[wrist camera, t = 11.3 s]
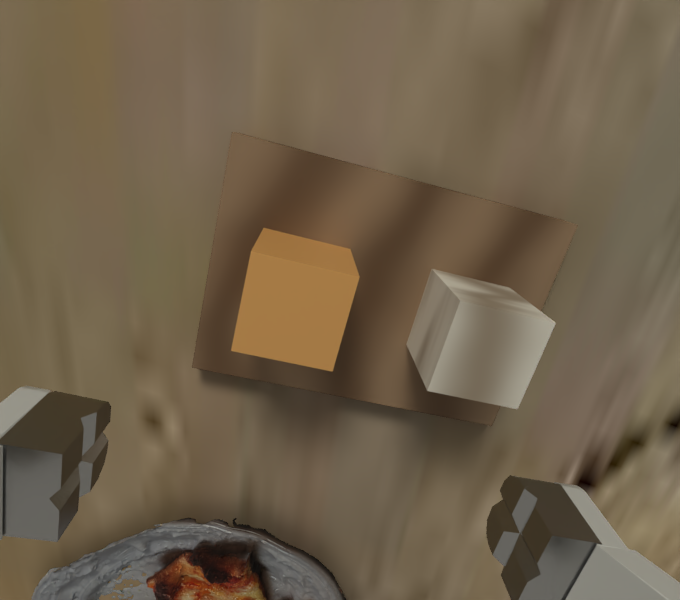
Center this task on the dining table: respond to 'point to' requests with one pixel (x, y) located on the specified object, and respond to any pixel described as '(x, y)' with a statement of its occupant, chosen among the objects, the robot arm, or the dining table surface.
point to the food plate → (195, 567)
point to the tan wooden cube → (295, 300)
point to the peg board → (391, 282)
